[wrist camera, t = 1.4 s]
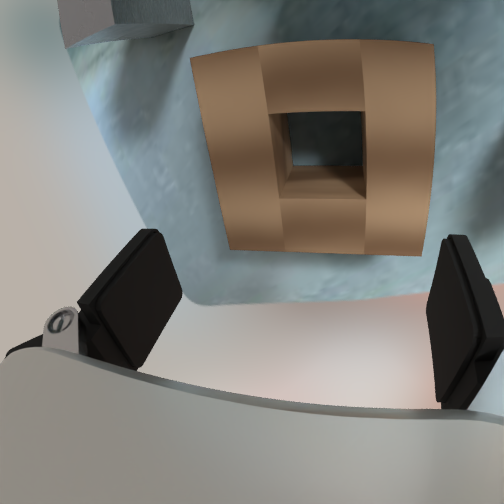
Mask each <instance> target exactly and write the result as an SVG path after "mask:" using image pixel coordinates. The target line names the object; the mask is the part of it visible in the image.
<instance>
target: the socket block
mask: <svg viewBox="0 0 504 504" xmlns="http://www.w3.org/2000/svg"><path fill="white" fill-rule="evenodd" d="M190 62H191V67H192V72H193V77H194V82H195V87H196V92H197V97H198V102H199V107H200V112H201V117H202V122H203V127H204V132H205V137H206V141H207V146H208V151H209V156H210V160H211V165H212V170H213V174H214V179H215V184H216V188H217V193H218V198H219V202H220V207H221V211H222V216H223V220H224V225H225V229H226V234H227V238H228V243H229V247H230V250H252V251H281V252H310V253H339V254H368V255H396V256H422V250H423V245H424V239H425V233H426V226H427V219H428V212H429V205H430V196H431V188H432V178H433V166H434V152H435V132H436V75H435V56H434V44H428V43H419V42H408V41H393V40H370V39H336V40H312V41H297V42H286V43H276V44H267V45H259V46H252V47H245V48H239V49H233V50H227V51H222V52H216V53H211V54H206V55H202V56H197V57H193V58H190ZM315 111H361V125H362V162H363V166H341V165H313V166H293V160H292V151H291V142H290V133H289V125H288V116H287V113H291V112H315Z"/></svg>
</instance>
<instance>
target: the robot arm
mask: <svg viewBox="0 0 504 504" xmlns="http://www.w3.org/2000/svg"><path fill="white" fill-rule="evenodd" d="M181 298H182V288H181V285H180V282H179V280H178V277H177V274H176V271H175V269H174V266H173V263H172V260H171V257H170V254H169V252H168V249H167V246H166V243H165V240H164V237H163V235H162V234H161V233H159V231H158V230H157V229H141V230H140V231H139V232H138V233H137V234H136V235H135V236H134V237H133V238H132V239H131V240H130V241H129V242H128V244H127V245H126V246H125V247H124V248H123V249H122V250H121V251H120V252H119V253H118V255H117V256H116V257H115V258H114V259H113V260H112V261H111V263H110V264H109V265H108V266H107V267H106V268H105V269H104V270H103V272H102V273H101V274H100V275H99V276H98V278H97V279H96V280H95V281H94V282H93V283H92V285H91V286H90V287H89V288H88V289H87V290H86V292H85V293H84V294H83V295H82V297H81V298H80V299H79V300H78V301H77V303H78V305H79V307H80V308H81V311H80V312H79V313H78V311H77V310H76V309H75V308H73V307H64V308H61V309H59V310H57V311H56V312H54V313H53V314H52V315H51V316H50V317H49V318H48V319H47V321H46V323H45V326H44V332H43V334H42V335H40V336H38V337H35V338H33V339H31V340H29V341H27V342H25V343H22V344H21V345H18V346H16V347H14V348H12V349H10V350H9V351H8V352H7V354H6V357H5V359H4V360H3V362H2V363H1V364H0V504H504V318H503V315H502V312H501V309H500V306H499V304H498V301H497V298H496V296H495V293H494V291H493V288H492V285H491V283H490V281H489V279H487V278H485V276H484V273H483V271H482V269H481V266H480V264H479V262H478V259H477V257H476V255H475V253H474V250H473V248H472V246H471V244H470V242H469V240H468V238H467V236H466V235H454V234H449V235H448V237H447V239H443V240H442V243H441V247H440V252H439V257H438V261H437V266H436V270H435V274H434V278H433V282H432V286H431V290H430V294H429V297H428V301H427V307H426V315H427V321H428V328H429V335H430V343H431V350H432V359H433V369H434V380H435V393H436V401H437V402H441V409H387V408H364V407H346V406H332V405H320V404H310V403H300V402H292V401H291V402H290V401H283V400H276V399H268V398H262V397H255V396H248V395H242V394H236V393H231V392H226V391H220V390H215V389H210V388H205V387H200V386H195V385H191V384H186V383H182V382H177V381H173V380H169V379H164V378H161V377H156V376H153V375H149V374H145V373H141V372H137V369H138V368H139V367H141V366H142V365H143V364H144V362H145V360H146V358H147V357H148V355H149V353H150V352H151V350H152V348H153V346H154V344H155V343H156V341H157V339H158V337H159V336H160V334H161V332H162V330H163V329H164V327H165V326H166V324H167V322H168V320H169V319H170V317H171V315H172V314H173V312H174V310H175V308H176V307H177V305H178V303H179V302H180V300H181Z"/></svg>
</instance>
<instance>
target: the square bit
mask: <svg viewBox="0 0 504 504" xmlns="http://www.w3.org/2000/svg"><path fill="white" fill-rule="evenodd" d="M57 1H58V8H59V15H60V22H61V28H62V33H63V39H64V44H65V49H67V48H72V47H77V46H83V45H89V44H95V43H102V42H109V41H118V40H127V39H137V38H150V37H154V36H157V35H160V34H164V33H167V32H170V31H174V30H177V29H181V28H184V27H188V26H192V25H194V22H193V17H192V11H191V6H190V0H57Z"/></svg>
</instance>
